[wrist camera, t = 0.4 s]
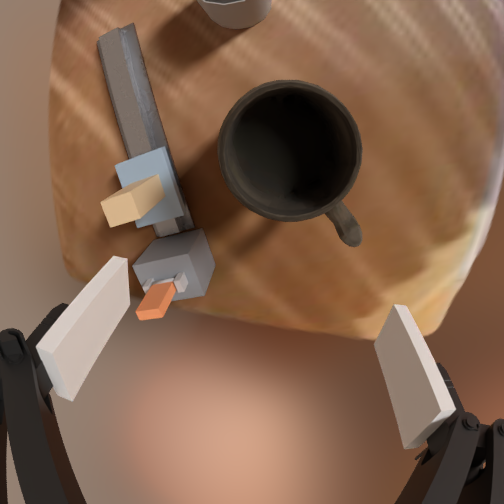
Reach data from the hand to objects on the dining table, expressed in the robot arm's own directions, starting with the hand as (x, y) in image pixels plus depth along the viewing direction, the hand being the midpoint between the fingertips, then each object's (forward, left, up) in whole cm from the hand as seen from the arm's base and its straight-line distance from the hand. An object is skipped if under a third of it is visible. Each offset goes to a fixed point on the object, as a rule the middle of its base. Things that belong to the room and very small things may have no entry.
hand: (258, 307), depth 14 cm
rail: (-11, -15, -28) cm, 33 cm away
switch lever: (+8, -15, -18) cm, 25 cm away
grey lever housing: (+8, -15, -28) cm, 32 cm away
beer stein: (-3, +4, -28) cm, 28 cm away
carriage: (-3, -15, -28) cm, 31 cm away
